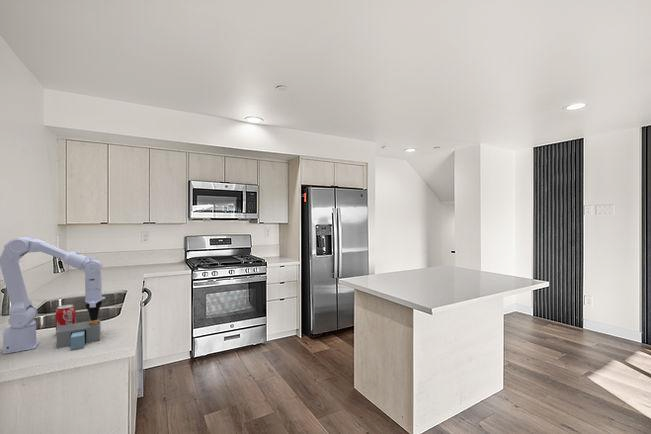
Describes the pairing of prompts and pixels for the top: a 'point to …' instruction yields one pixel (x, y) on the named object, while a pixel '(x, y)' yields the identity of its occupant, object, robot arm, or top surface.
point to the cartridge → (78, 339)
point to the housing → (67, 330)
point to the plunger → (94, 322)
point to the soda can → (65, 315)
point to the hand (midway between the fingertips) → (94, 319)
